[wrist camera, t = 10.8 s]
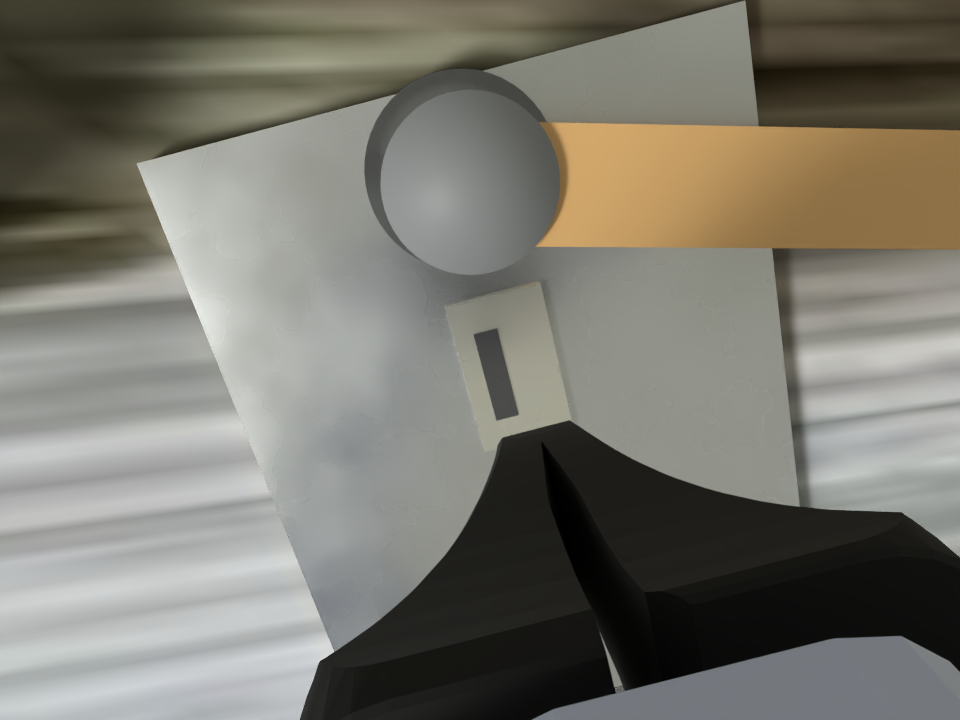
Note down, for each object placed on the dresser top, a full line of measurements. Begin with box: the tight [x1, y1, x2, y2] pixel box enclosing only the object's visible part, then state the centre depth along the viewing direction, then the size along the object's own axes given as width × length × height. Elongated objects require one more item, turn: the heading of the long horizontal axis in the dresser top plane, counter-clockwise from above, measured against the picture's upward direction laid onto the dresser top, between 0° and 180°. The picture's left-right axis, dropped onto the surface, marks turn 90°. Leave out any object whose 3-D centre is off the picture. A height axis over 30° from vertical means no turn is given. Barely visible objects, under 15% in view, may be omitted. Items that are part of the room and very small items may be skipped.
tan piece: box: [380, 90, 960, 275], centre depth 14 cm, size 16×3×3 cm, turn 89°
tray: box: [137, 1, 800, 687], centre depth 18 cm, size 18×14×1 cm
